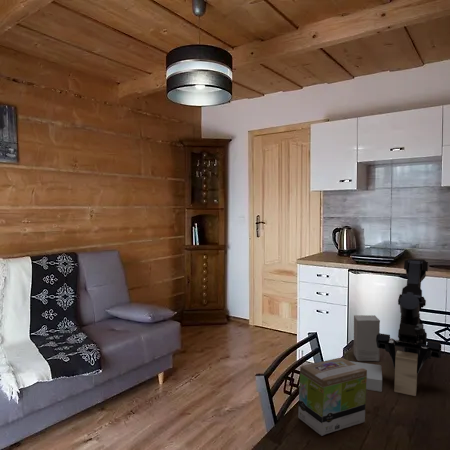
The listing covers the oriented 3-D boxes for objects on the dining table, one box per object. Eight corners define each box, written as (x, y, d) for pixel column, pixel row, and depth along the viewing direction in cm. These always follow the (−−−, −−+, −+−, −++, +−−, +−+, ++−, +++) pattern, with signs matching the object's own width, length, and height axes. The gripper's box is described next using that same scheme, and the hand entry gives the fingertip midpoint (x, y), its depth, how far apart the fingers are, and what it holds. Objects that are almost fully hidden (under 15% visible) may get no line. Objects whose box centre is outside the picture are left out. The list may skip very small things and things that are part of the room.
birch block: (396, 383, 129) (397, 350, 128) (416, 387, 126) (417, 353, 125) (394, 391, 123) (395, 356, 123) (415, 396, 121) (417, 360, 120)
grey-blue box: (343, 371, 139) (344, 360, 138) (381, 376, 135) (381, 365, 134) (341, 386, 127) (341, 374, 127) (381, 393, 123) (382, 380, 123)
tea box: (322, 438, 99) (323, 380, 98) (297, 418, 108) (298, 365, 107) (366, 422, 106) (367, 368, 105) (339, 405, 115) (340, 355, 114)
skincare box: (375, 355, 152) (376, 315, 151) (380, 362, 146) (381, 320, 145) (352, 354, 153) (353, 314, 152) (356, 361, 147) (357, 319, 146)
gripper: (377, 308, 131) (371, 353, 122) (442, 317, 122) (441, 365, 113) (380, 325, 138) (374, 368, 129) (441, 334, 130) (440, 381, 121)
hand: (406, 370), depth 123 cm, fingers closed on birch block, 6 cm apart
